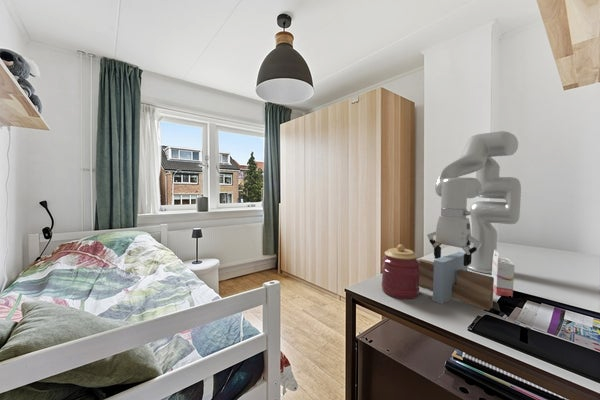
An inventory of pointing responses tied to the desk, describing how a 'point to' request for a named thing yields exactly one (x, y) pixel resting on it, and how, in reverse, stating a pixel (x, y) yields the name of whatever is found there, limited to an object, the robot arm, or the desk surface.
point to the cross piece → (446, 275)
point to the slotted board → (462, 285)
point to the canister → (400, 273)
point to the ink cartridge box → (502, 275)
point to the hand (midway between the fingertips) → (451, 261)
